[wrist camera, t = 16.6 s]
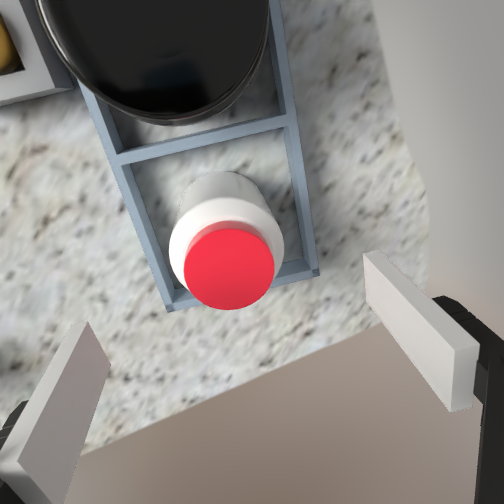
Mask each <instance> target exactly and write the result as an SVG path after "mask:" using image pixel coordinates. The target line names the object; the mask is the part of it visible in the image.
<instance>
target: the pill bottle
mask: <svg viewBox="0 0 504 504" xmlns="http://www.w3.org/2000/svg"><path fill="white" fill-rule="evenodd" d="M169 257H170V263H171V266H172V269H173V271H174V273H175V275H176V277H177V278H178V280H179V281H180V282H181V283H182V285H183V286H184V287H185V288H186V289H188V290H189V291H190V292H191V293H192V294H193V296H194V297H195V298H196V299H198V300H199V301H200V302H202V303H203V304H205V305H207V306H209V307H212V308H216V309H221V310H235V309H240V308H244V307H246V306H248V305H251V304H253V303H254V302H256V301H257V300H259V299H260V298H261V297H262V296H263V295H264V294H265V293H266V291H267V290H268V289H269V287H270V285H271V283H272V281H273V280H274V278H275V277H276V276H277V274H278V272H279V270H280V267H281V265H282V261H283V257H284V241H283V236H282V233H281V230H280V228H279V226H278V223H277V222H276V220H275V218H274V216H273V214H272V212H271V210H270V208H269V207H268V205H267V203H266V201H265V199H264V197H263V195H262V193H261V192H260V191H259V189H258V188H257V186H256V185H255V184H254V183H252V182H251V181H250V180H249V179H247V178H246V177H244V176H242V175H240V174H237V173H234V172H228V171H216V172H212V173H208V174H206V175H204V176H201V177H199V178H198V179H197V180H195V181H194V182H193V183H192V184H191V185H190V186H189V187H188V188H187V189H186V191H185V193H184V195H183V196H182V199H181V202H180V205H179V209H178V212H177V216H176V220H175V223H174V227H173V231H172V234H171V238H170V244H169Z"/></svg>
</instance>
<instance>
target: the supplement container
mask: <svg viewBox="0 0 504 504" xmlns="http://www.w3.org/2000/svg"><path fill="white" fill-rule="evenodd" d="M35 3H36V7H37V10H38V13H39V16H40V19H41V22H42V24H43V27H44V29H45V31H46V33H47V36H48V38H49V39H50V41H51V43H52V45H53V47H54V49H55V50H56V52H57V53H58V55H59V56H60V58H61V59H62V61H63V62H64V64H65V65H66V66H67V67H68V69H69V70H70V71H71V72H72V74H73V75H74V76H75V77H76V78H77V79H78V80H79V81H80V82H81V83H82V84H83V85H84V86H85V87H86V88H87V89H89V90H90V91H91V92H92V93H93V94H95V95H96V96H97V97H99V98H100V99H101V100H103V101H105V102H106V103H108V104H110V105H111V106H113V107H115V108H117V109H118V110H120V111H121V112H123V113H125V114H127V115H129V116H131V117H133V118H135V119H138V120H140V121H143V122H146V123H150V124H154V125H160V126H172V127H177V126H187V125H193V124H197V123H200V122H204V121H206V120H208V119H211V118H213V117H215V116H216V115H218V114H220V113H222V112H223V111H224V110H226V109H227V108H229V107H230V106H231V105H232V104H233V103H234V102H235V101H236V100H237V99H238V98H239V97H240V96H241V95H242V94H243V93H244V91H245V90H246V88H247V87H248V86H249V84H250V83H251V81H252V79H253V77H254V76H255V74H256V71H257V69H258V67H259V65H260V62H261V59H262V56H263V53H264V49H265V45H266V40H267V34H268V22H269V0H35Z"/></svg>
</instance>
